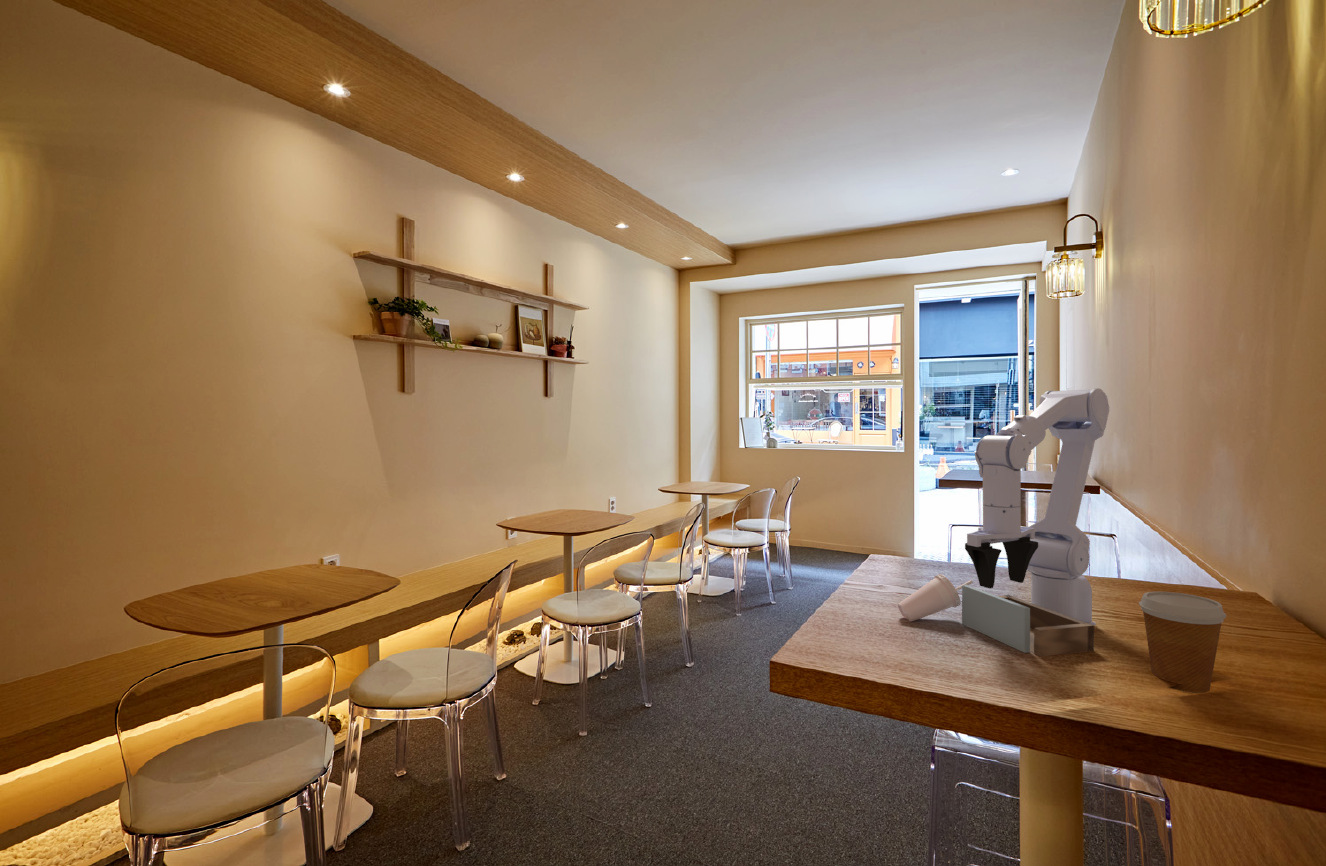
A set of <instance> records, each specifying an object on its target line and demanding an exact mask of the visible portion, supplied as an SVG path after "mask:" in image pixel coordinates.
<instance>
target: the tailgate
mask: <svg viewBox="0 0 1326 866" xmlns="http://www.w3.org/2000/svg"><path fill="white" fill-rule="evenodd" d="M961 585H962V584H961ZM961 593H962V594H961V624H962V625H964V626H966V627H968V628H970V629H972V630H974V631H977V632H979V633H981V634H983V635H985V636H987V637H990V638H992V639H993V640H995V641H998V642H1000V643H1002V644H1005V645H1007V646H1009V647H1011V648H1013V649H1016V650H1018V651H1020V652H1021V653H1024V654H1025V653H1031V652H1030V608H1029V607H1026V606H1023V605H1020V604H1018V603H1015V602H1012V601H1010V600H1007V599H1004V598H1001V597H999V596H1000V595H995V594H993V593H990V592H988V591H985V590H983V589H982V590H981V589H980V588H977V587H973V586H971V585H970V584H969V585H962V589H961Z"/></svg>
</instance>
